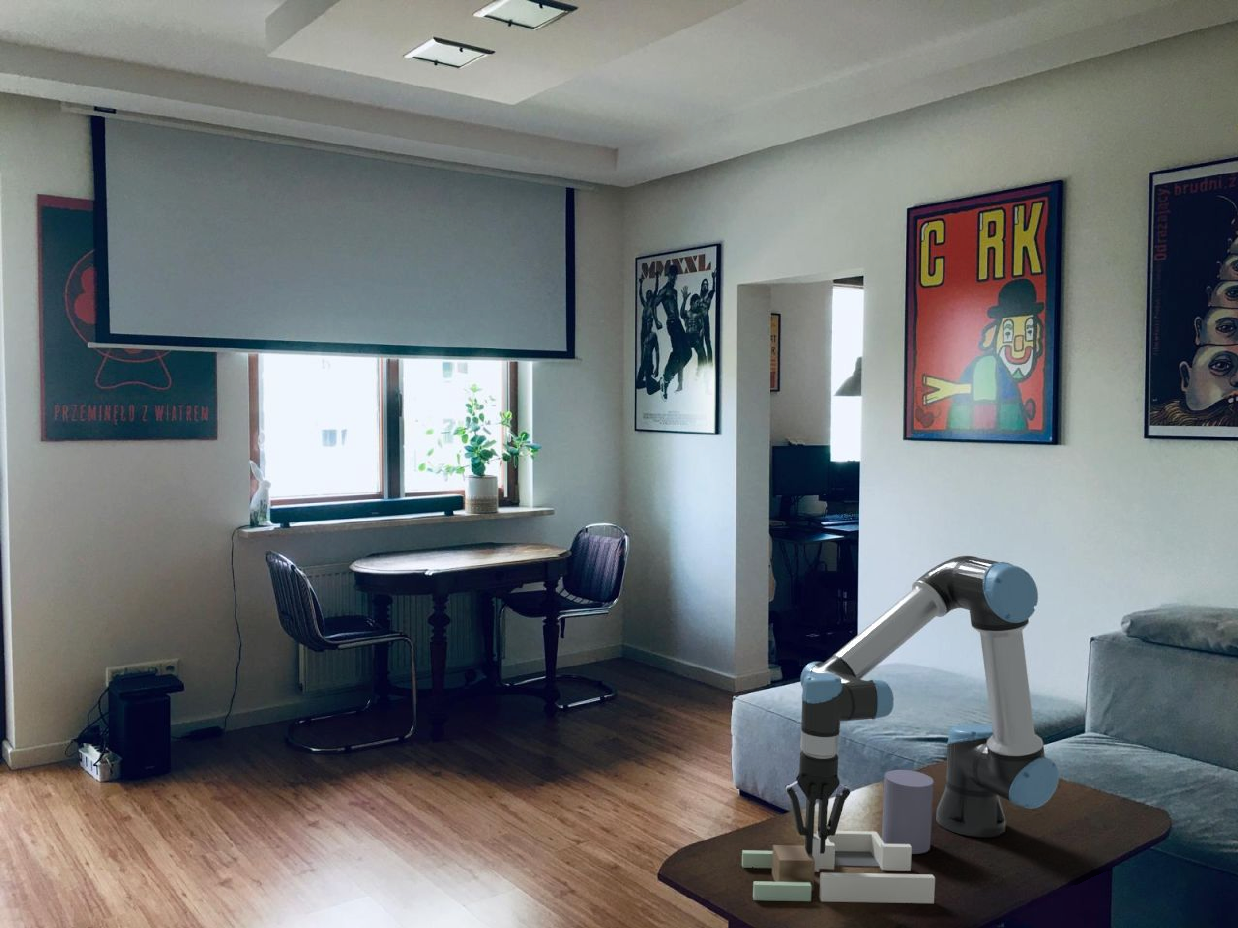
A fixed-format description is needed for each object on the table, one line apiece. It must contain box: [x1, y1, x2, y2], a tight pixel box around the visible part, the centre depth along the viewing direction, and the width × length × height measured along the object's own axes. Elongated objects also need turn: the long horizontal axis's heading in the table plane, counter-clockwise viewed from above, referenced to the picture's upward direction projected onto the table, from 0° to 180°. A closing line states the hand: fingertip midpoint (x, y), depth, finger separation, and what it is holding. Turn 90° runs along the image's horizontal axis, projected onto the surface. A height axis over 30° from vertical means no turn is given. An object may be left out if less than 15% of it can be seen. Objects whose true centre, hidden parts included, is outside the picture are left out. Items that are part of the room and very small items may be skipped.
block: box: [771, 844, 815, 892], centre depth 204 cm, size 7×7×6 cm
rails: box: [741, 849, 812, 902], centre depth 204 cm, size 11×16×3 cm
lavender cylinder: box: [881, 769, 934, 855], centre depth 224 cm, size 10×10×15 cm
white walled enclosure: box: [816, 829, 936, 904], centre depth 209 cm, size 22×24×5 cm
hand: (814, 868), depth 204 cm, fingers closed
